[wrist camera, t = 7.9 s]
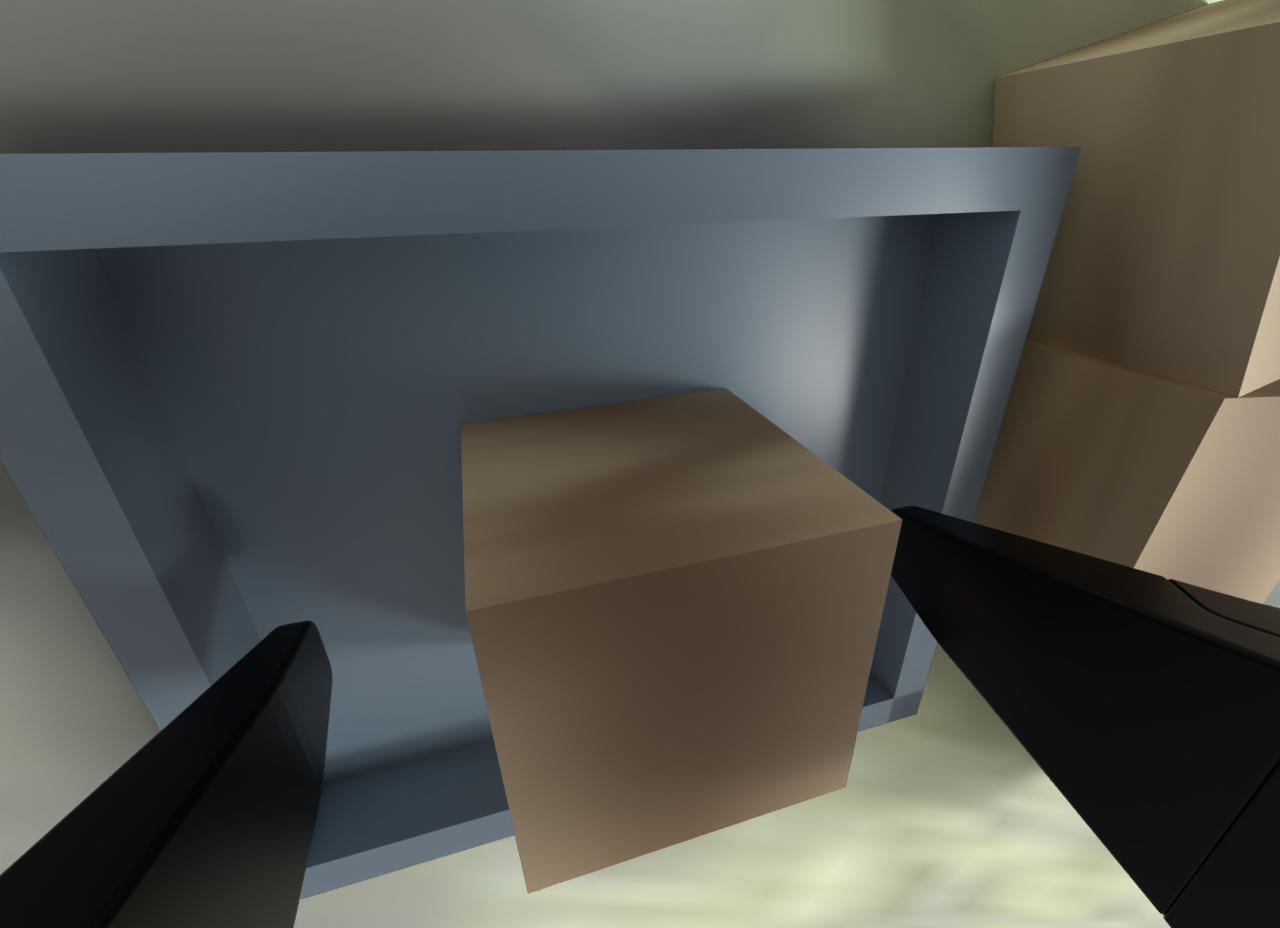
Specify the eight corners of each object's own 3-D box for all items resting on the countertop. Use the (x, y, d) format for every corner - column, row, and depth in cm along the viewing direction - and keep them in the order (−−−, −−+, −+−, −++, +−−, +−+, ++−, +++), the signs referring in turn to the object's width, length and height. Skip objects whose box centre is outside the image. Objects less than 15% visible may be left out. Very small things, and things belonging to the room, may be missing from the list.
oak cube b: (1123, 330, 13) (1406, 392, 9) (1049, 500, 15) (1257, 611, 11) (970, 328, 12) (1224, 398, 8) (910, 514, 14) (1091, 645, 10)
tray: (961, 154, 10) (1082, 146, 8) (858, 647, 15) (916, 714, 13) (4, 164, 7) (-182, 155, 5) (296, 792, 12) (266, 910, 10)
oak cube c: (1203, 4, 10) (1665, -107, 6) (1156, 256, 12) (1477, 290, 8) (991, 78, 10) (1352, 8, 6) (982, 327, 12) (1237, 397, 8)
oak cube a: (726, 388, 10) (903, 519, 6) (718, 591, 12) (846, 787, 8) (460, 424, 9) (465, 611, 5) (501, 640, 11) (528, 893, 7)
